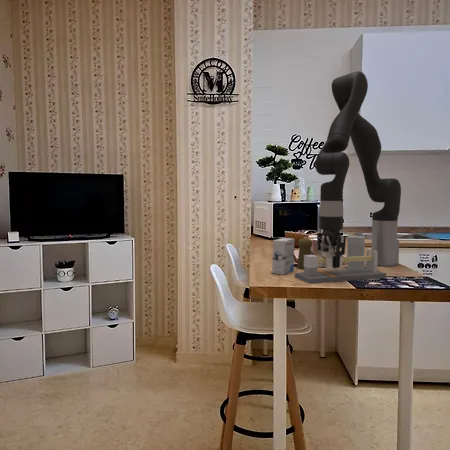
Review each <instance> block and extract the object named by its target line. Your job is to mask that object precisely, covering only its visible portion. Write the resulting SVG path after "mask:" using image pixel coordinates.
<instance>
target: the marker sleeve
mask: <svg viewBox="0 0 450 450" xmlns="http://www.w3.org/2000/svg"><path fill="white" fill-rule="evenodd" d="M324 257H326V263H318V267H320V268H325V269H326V270H327V271H331V270H343V262H342V261H343V257H344V255H341V256H340V267H339V268H333V254H332V250H329V251H320V250H318V258H324Z"/></svg>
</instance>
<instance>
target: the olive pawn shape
mask: <svg viewBox="0 0 450 450" xmlns="http://www.w3.org/2000/svg"><path fill="white" fill-rule="evenodd" d="M297 245H298V247H299V249H298V256H297V264H296V269H298V270H303V271H304V255H313V254H312V246H313V241H312V239H311V238H300V239H299V240H298V242H297Z"/></svg>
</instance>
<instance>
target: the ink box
mask: <svg viewBox="0 0 450 450" xmlns="http://www.w3.org/2000/svg"><path fill="white" fill-rule="evenodd" d="M271 267H272V269H271V272H272V274H275V275H283V276H284V275H287V274H289V273H292V272H294V271H295V270H294V269H295V238H290V237H287V238H286V237H281V238H278V239H277V238H276V239H273V240H272V266H271Z"/></svg>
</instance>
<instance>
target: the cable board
mask: <svg viewBox="0 0 450 450" xmlns="http://www.w3.org/2000/svg"><path fill="white" fill-rule="evenodd" d="M365 253H366V255H365V256H353V257H347V256H343V261H342V263H347V262H352V261H364V262H365V267H364V268H362V269H347V268H346V269H330V270H318V267H319V263H326V257H324V258H319V255H314V254H312V255H304V270H303V271H302V272H295V273H294V278H295V279H298V280H300V281H302V282H305V283H308V284H309V283H310V284H319V283H320V284H321V283H322V284H324V283H323V282H325V283H338V282H350V281H363V280H376V279H378V280H379V279H387V272H384V271H379V270H378V265H377V261H378V251H372V250H371V249H366V252H365Z"/></svg>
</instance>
